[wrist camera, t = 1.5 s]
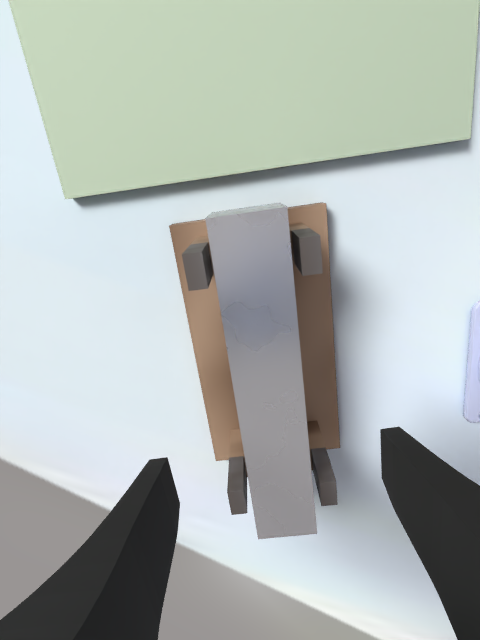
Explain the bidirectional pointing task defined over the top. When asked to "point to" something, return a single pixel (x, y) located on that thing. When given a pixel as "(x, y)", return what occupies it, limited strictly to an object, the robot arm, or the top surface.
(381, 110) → the mat
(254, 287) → the rail
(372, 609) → the top surface
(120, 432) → the top surface
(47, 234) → the top surface
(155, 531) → the robot arm
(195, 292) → the stand
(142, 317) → the top surface
